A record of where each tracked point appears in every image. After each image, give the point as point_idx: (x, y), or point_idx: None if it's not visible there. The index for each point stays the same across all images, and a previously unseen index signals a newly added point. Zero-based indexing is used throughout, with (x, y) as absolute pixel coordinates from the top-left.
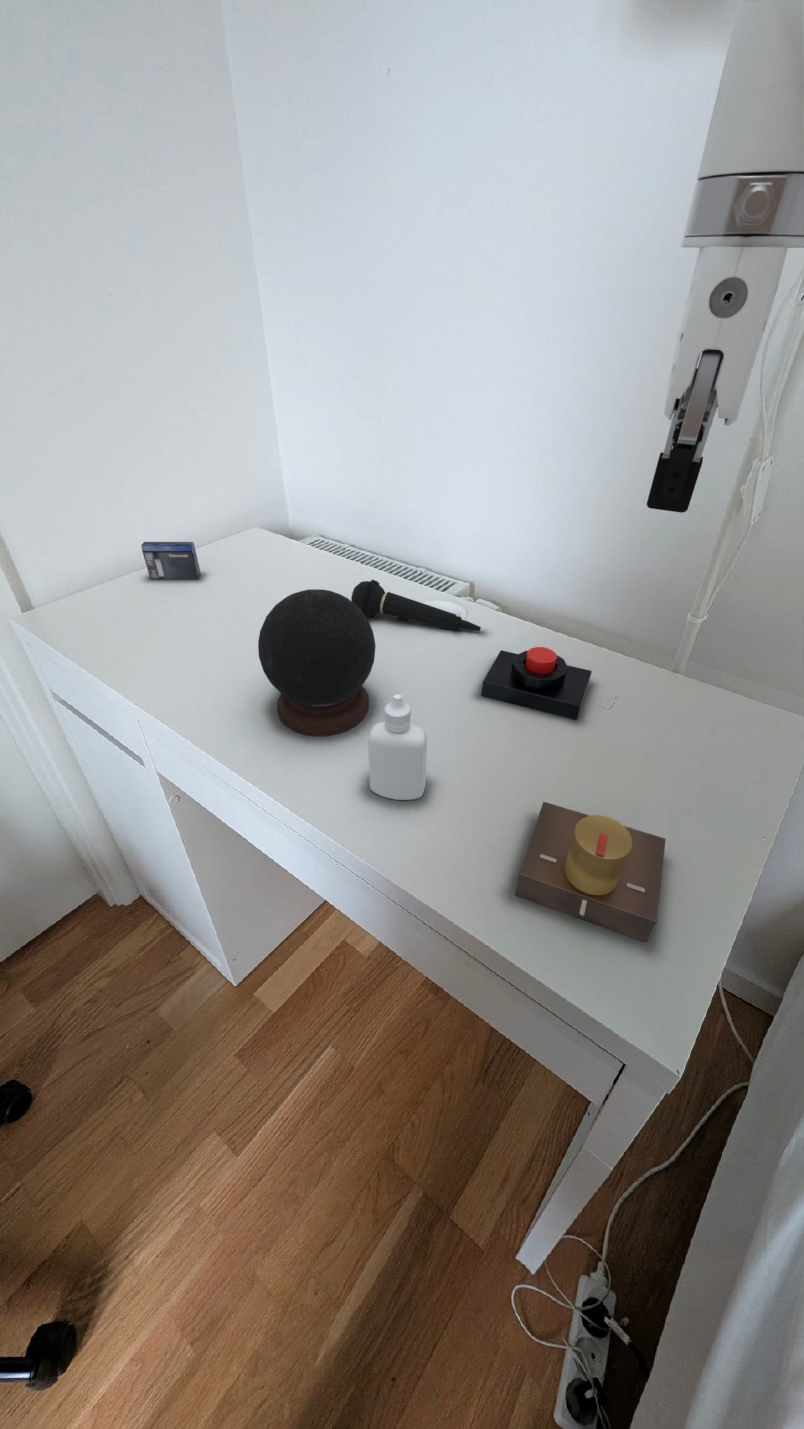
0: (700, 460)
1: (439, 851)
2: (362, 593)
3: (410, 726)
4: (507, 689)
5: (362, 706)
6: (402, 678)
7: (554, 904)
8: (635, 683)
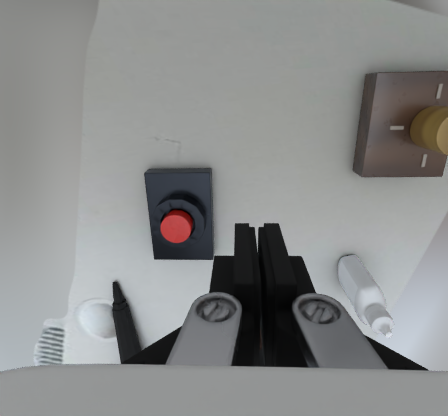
0: (283, 290)
1: (400, 226)
2: None
3: (370, 303)
4: (212, 237)
5: None
6: None
7: None
8: (121, 123)
